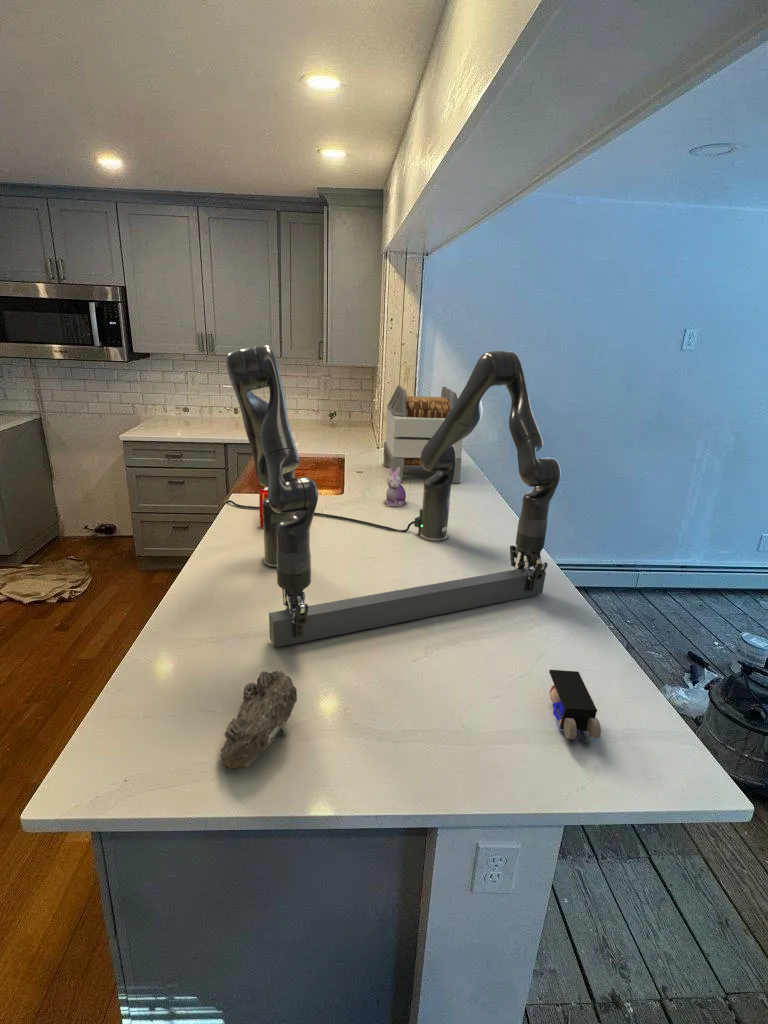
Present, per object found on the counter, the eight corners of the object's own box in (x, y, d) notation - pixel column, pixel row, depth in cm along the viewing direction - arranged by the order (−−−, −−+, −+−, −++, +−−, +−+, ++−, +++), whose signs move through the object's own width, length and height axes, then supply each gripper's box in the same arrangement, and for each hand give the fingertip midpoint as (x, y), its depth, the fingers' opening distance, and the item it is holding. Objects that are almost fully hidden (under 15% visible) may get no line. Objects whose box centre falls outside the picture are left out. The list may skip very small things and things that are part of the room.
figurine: (390, 508, 224) (392, 471, 219) (379, 500, 233) (380, 465, 228) (411, 505, 229) (413, 469, 223) (399, 498, 237) (401, 463, 232)
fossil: (239, 671, 114) (294, 639, 110) (270, 702, 117) (325, 672, 112) (196, 762, 95) (261, 727, 90) (236, 796, 98) (300, 764, 93)
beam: (533, 587, 164) (536, 565, 161) (542, 593, 160) (546, 572, 158) (269, 638, 133) (268, 612, 130) (273, 647, 129) (273, 621, 127)
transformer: (382, 463, 289) (386, 382, 275) (445, 464, 293) (451, 384, 279) (390, 482, 257) (394, 392, 243) (460, 483, 261) (468, 394, 247)
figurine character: (598, 755, 105) (572, 695, 118) (607, 725, 101) (580, 667, 115) (562, 754, 104) (541, 694, 118) (570, 724, 101) (547, 666, 114)
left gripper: (269, 554, 131) (271, 618, 137) (286, 581, 119) (287, 650, 125) (301, 549, 134) (301, 613, 140) (320, 576, 122) (319, 644, 128)
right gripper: (504, 522, 158) (497, 577, 164) (537, 542, 146) (528, 601, 152) (526, 519, 161) (518, 573, 167) (560, 538, 149) (550, 596, 155)
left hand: (294, 630), depth 132 cm, fingers closed on beam, 4 cm apart
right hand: (523, 586), depth 159 cm, fingers closed on beam, 4 cm apart
